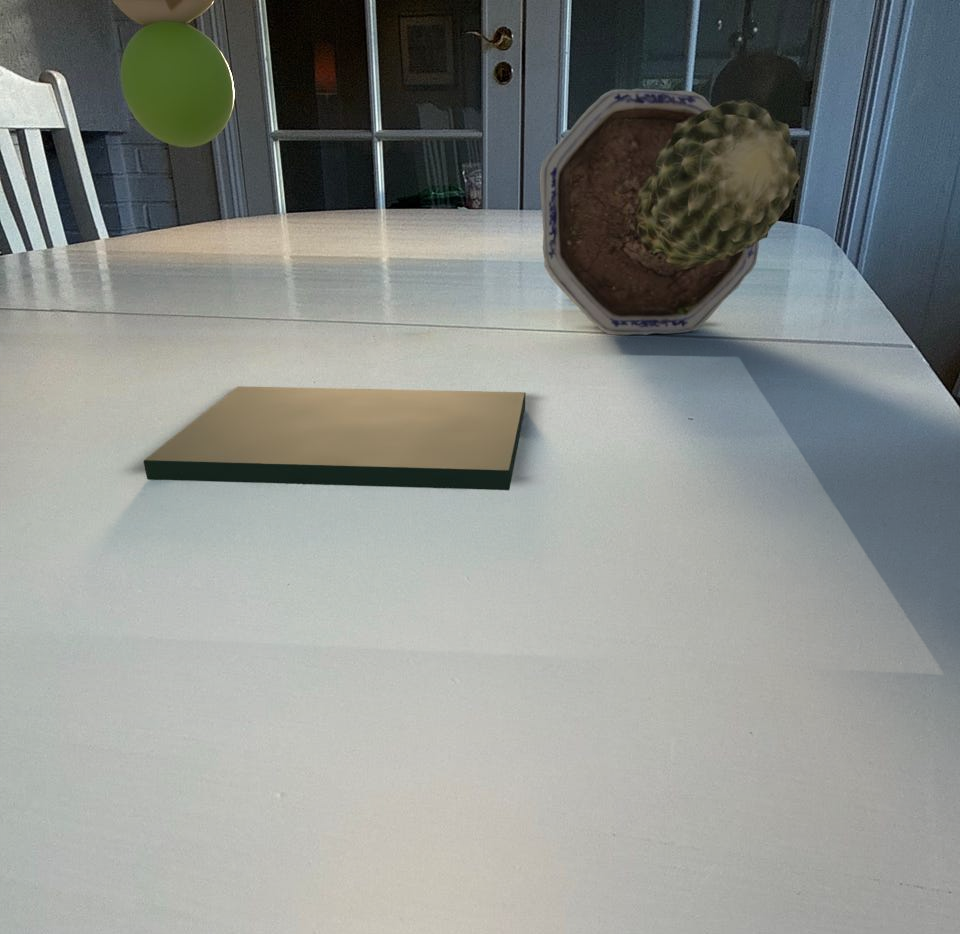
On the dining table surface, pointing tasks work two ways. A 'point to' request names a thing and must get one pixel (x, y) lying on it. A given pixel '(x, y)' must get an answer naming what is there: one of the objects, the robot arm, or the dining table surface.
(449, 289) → the dining table surface
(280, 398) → the mat
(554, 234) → the potted plant
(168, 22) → the snail figurine
